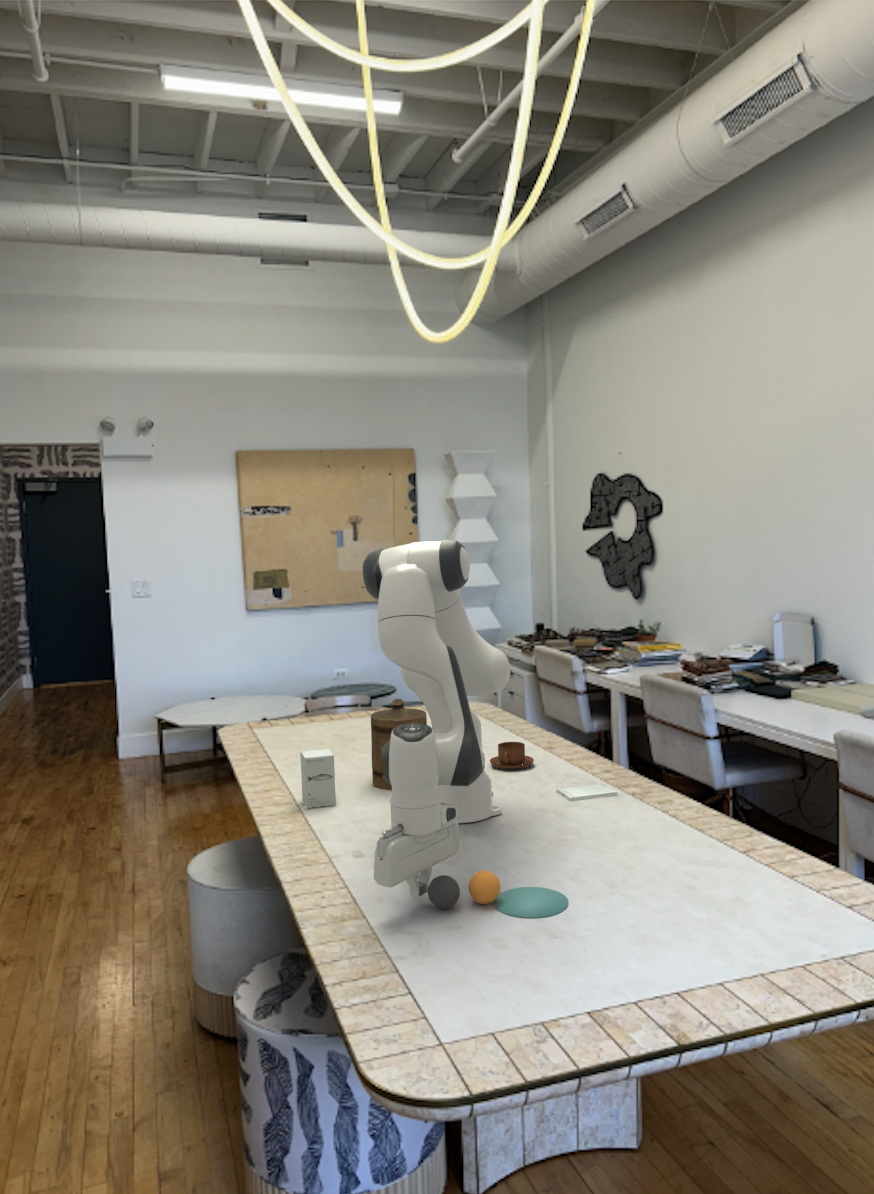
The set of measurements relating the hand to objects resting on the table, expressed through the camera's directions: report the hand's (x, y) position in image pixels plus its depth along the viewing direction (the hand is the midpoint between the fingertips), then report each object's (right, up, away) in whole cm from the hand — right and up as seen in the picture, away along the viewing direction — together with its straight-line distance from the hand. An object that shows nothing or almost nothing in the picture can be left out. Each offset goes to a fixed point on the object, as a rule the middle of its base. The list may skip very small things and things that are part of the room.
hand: (419, 894), depth 163 cm
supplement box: (-26, +2, +62) cm, 67 cm away
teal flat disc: (+19, -1, -2) cm, 20 cm away
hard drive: (+40, +4, +62) cm, 74 cm away
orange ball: (+11, +2, -1) cm, 12 cm away
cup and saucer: (+24, +6, +90) cm, 93 cm away
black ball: (+4, +1, -3) cm, 5 cm away
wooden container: (-6, +4, +79) cm, 79 cm away
